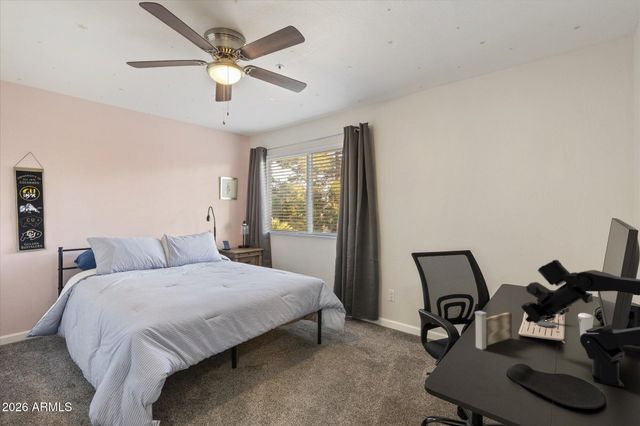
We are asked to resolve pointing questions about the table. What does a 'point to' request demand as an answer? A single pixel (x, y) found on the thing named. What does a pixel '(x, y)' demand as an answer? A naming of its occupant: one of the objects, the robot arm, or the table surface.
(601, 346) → the robot arm
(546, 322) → the pocket watch
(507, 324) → the gate
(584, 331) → the milkshake
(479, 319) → the gate post
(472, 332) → the table surface
